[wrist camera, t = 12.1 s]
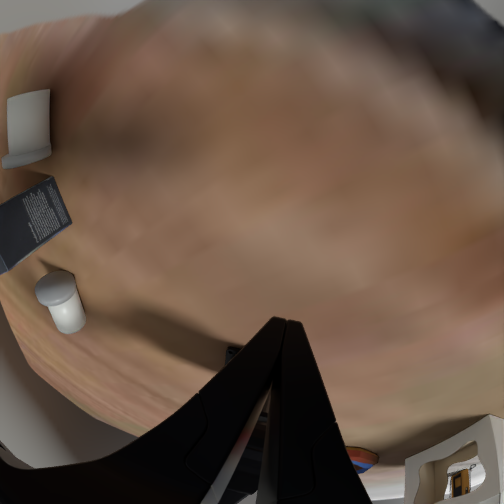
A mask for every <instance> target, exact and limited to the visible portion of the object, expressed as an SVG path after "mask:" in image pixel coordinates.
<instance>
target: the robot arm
mask: <svg viewBox="0 0 504 504" xmlns="http://www.w3.org/2000/svg"><path fill="white" fill-rule="evenodd" d="M286 322H287V323H286ZM257 490H258V492H257V499H256V504H372V502H371V500H370V498H369V496H368V494H367V492H366V490H365V488H364V485H363V483H362V481H361V479H360V477H359V475H358V473H357V471H356V469H355V467H354V465H353V463H352V460H351V458H350V456H349V454H348V452H347V449H346V446H345V443H344V441H343V438H342V435H341V433H340V430H339V427H338V424H337V422H336V418H335V415H334V412H333V409H332V406H331V403H330V400H329V397H328V395H327V392H326V389H325V386H324V383H323V380H322V377H321V374H320V372H319V369H318V366H317V363H316V360H315V358H314V355H313V352H312V349H311V346H310V344H309V341H308V338H307V335H306V332H305V330H304V327H303V324H302V323H301V322H300V321H295V320H286V319H285V318H280V317H275V316H274V317H272V318H271V319H270V320H269V321H268V322H267V323H266V324H265V325H264V326H263V327H262V328H261V329H260V330H259V331H258V332H257V334H256V335H255V336H254V337H253V338H252V339H251V340H250V341H249V342H248V343H247V344H246V345H245V346H244V347H243V348H242V349H238V348H234V347H228V348H227V351H226V360H225V366H224V367H223V368H222V369H221V370H220V371H219V372H218V373H217V374H216V375H215V376H214V377H213V378H212V379H211V380H210V381H209V382H208V383H207V384H206V385H205V386H204V387H203V388H202V389H201V390H199V394H198V393H196V394H195V395H194V396H193V397H192V398H191V399H190V400H189V401H188V402H187V403H185V404H184V405H183V406H182V407H181V408H180V409H178V410H177V411H176V412H175V413H174V414H172V415H171V416H170V417H168V418H167V419H166V420H164V421H163V422H161V423H160V424H159V425H157V426H156V427H154V428H153V429H151V430H150V431H148V432H147V433H145V434H143V435H142V436H140V437H139V438H137V439H136V440H134V441H132V442H131V443H129V444H128V445H126V446H124V447H123V448H121V449H119V450H117V451H116V452H114V453H112V454H110V455H107V456H105V457H102V458H99V459H96V460H92V461H86V462H81V463H76V464H70V465H63V466H56V467H48V468H37V469H35V468H33V467H31V466H29V465H28V464H26V463H24V462H23V461H21V460H19V459H18V458H16V457H15V456H14V455H13V454H12V453H11V452H10V451H9V449H8V448H6V446H5V445H4V444H3V443H2V442H1V441H0V504H237V503H239V502H240V501H241V500H242V499H244V498H245V497H247V496H248V495H252V494H254V493H255V492H256V491H257Z"/></svg>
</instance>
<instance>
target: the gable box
mask: <svg viewBox="0 0 504 504" xmlns="http://www.w3.org/2000/svg"><path fill="white" fill-rule="evenodd" d="M476 455H478V457H479V460H480V462H481V464H482V465H483V467H484V469H485V472H486V477H485V480H484V482H483V483H482V484H481V486H480V487H478V488H477V489H476V490H474V491H472V492H470V493H468V494H465V495H462V496H459V497H454V498H450V499H445V500H444V494H445V491H446V488H447V484H448V476H447V470H448V468H449V466H451V465H452V464H454V463H458V462H463V461H467V460H469V459H471V458H473V457H475V456H476ZM404 504H504V419H502V418H499V417H496V416H493V415H490V414H488V415H487V416H485V417H484V418H482V419H481V420H479V421H478V422H476V423H475V424H473V425H471V426H470V427H468V428H466V429H465V430H463V431H461V432H459V433H458V434H456V435H454V436H452V437H450V438H449V439H447V440H445V441H443V442H441V443H439V444H437V445H435V446H433V447H431V448H429V449H427V450H424V451H422V452H420V453H418V454H415V455H413V456H411V457H408V458H406V459H405V494H404Z"/></svg>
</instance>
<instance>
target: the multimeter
mask: <svg viewBox="0 0 504 504" xmlns="http://www.w3.org/2000/svg"><path fill="white" fill-rule="evenodd" d="M474 465H475V466H476V464H474ZM471 466H472V465H471ZM475 466H474V467H475ZM474 467H473V468H474ZM470 469H472V468H471V467H470ZM470 469H469V470H470ZM470 471H472V470H470ZM468 473H469V472H468V469H465V470H462V471H461V472H459V473H457V474H455V475H453V476H452V477H451V480H450V490H451V484H452V498H454V497H459V496H462V495H465V494H468V493H470V491H469V474H468ZM470 488H471V487H470Z"/></svg>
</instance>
